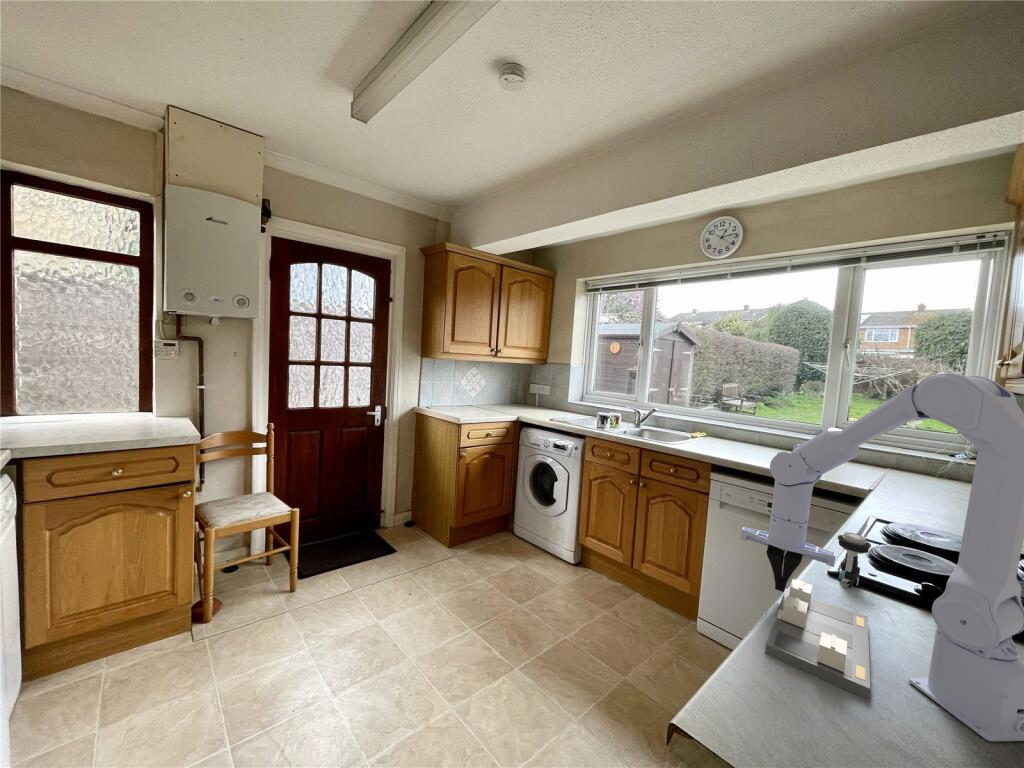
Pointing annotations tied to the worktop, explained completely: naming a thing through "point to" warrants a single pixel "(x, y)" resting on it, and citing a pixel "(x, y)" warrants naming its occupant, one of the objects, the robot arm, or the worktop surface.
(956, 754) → the worktop surface
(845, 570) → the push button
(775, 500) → the robot arm
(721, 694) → the worktop surface
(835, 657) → the near tab
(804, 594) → the far tab
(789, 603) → the middle tab
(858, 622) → the switch plate
